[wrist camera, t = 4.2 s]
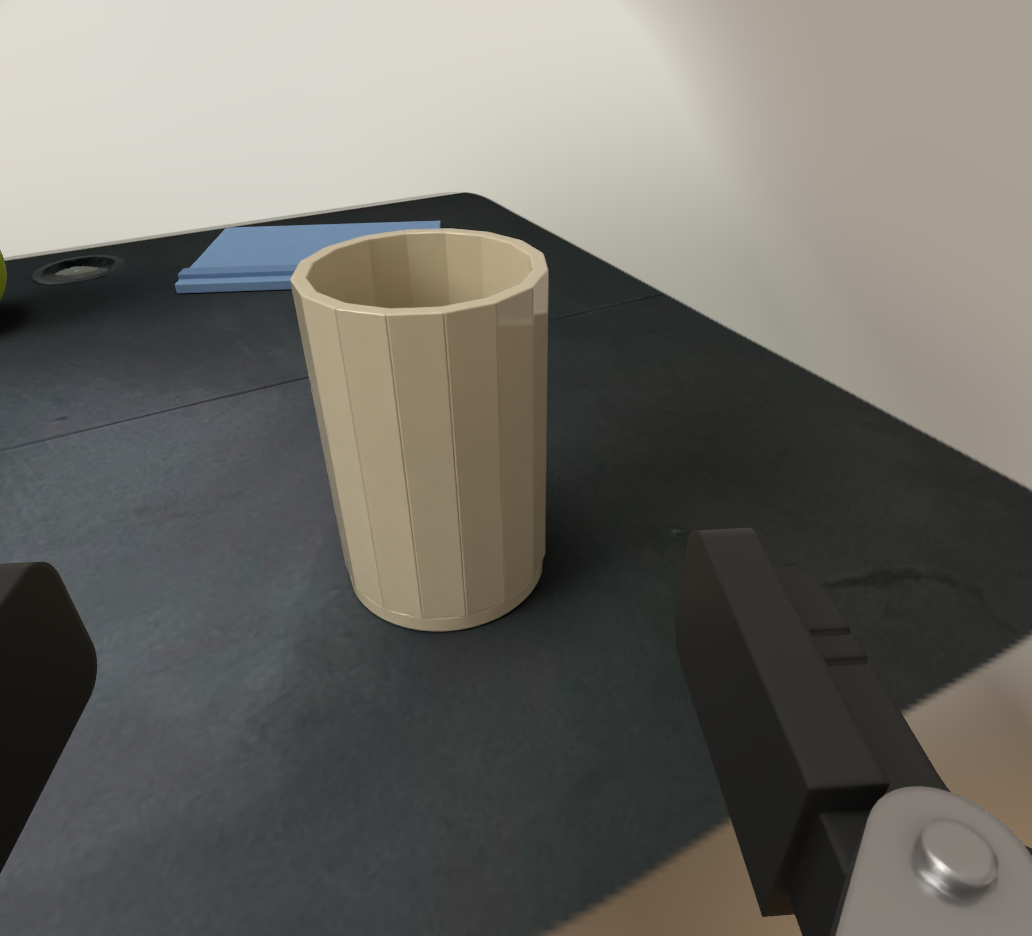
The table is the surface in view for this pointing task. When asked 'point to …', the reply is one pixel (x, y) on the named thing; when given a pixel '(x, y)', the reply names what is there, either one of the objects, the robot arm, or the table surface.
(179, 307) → the table surface
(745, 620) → the robot arm
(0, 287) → the tennis ball
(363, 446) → the cup
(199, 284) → the book
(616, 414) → the table surface
